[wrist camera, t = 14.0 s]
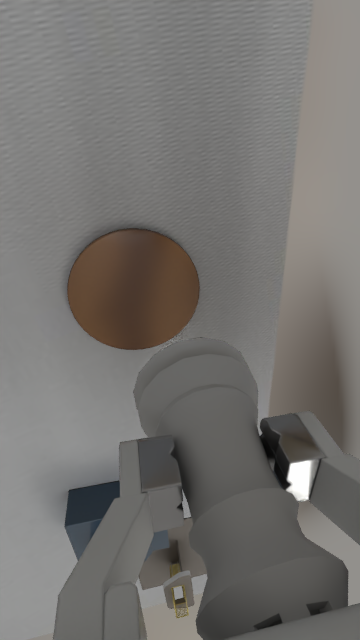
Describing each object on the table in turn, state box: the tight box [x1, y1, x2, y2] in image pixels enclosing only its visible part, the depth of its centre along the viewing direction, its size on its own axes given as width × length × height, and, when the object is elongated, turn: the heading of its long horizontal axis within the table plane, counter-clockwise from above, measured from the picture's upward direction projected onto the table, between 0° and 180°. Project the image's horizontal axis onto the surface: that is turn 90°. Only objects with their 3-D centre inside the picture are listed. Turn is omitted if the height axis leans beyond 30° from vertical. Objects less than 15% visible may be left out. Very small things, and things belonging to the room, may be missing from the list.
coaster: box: [68, 228, 199, 350], centre depth 27 cm, size 11×11×1 cm
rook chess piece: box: [133, 337, 348, 640], centre depth 9 cm, size 4×4×8 cm
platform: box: [139, 517, 207, 618], centre depth 47 cm, size 12×18×7 cm, turn 4°
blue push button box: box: [65, 481, 169, 562], centre depth 39 cm, size 11×9×6 cm
